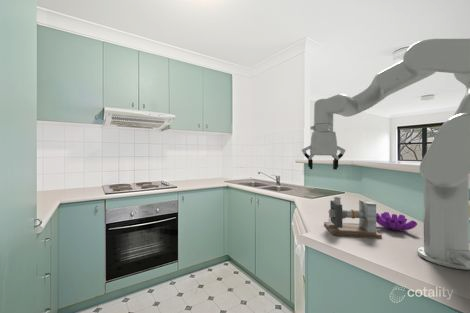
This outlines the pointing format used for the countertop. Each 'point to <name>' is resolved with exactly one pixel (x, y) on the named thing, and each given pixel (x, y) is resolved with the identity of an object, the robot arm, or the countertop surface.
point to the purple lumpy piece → (394, 221)
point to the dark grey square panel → (336, 213)
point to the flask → (338, 200)
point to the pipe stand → (353, 229)
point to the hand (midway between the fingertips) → (322, 169)
